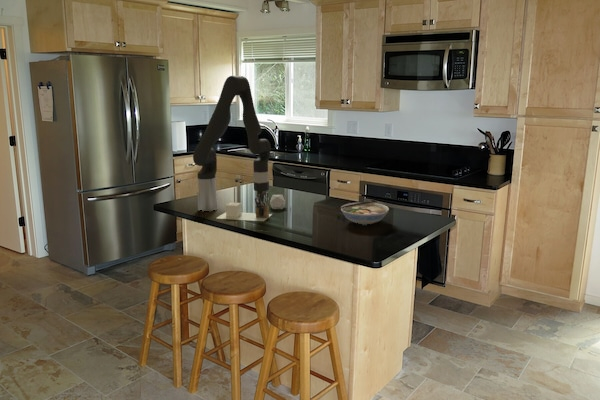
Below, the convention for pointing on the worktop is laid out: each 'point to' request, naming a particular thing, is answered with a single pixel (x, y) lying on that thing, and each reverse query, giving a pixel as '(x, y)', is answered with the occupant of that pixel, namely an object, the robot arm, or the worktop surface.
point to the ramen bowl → (364, 212)
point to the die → (277, 202)
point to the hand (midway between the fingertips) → (262, 214)
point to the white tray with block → (250, 215)
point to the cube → (233, 209)
